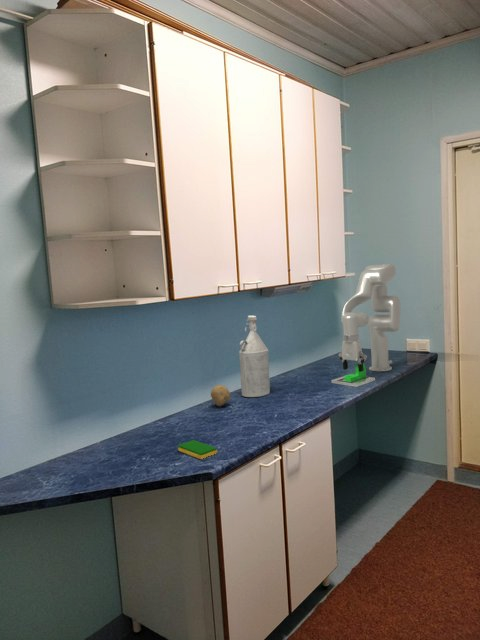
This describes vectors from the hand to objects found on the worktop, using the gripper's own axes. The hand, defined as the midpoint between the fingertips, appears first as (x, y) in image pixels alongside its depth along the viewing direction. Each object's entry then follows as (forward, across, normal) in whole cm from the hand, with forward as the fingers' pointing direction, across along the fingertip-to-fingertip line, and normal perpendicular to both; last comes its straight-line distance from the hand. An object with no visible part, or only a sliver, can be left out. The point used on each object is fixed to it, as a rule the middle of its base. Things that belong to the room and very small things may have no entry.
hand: (353, 370), depth 267 cm
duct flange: (+6, 0, -1) cm, 6 cm away
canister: (+5, -25, -48) cm, 54 cm away
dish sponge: (+4, +17, -116) cm, 117 cm away
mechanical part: (+5, 0, 0) cm, 5 cm away
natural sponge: (+5, -23, -72) cm, 75 cm away
